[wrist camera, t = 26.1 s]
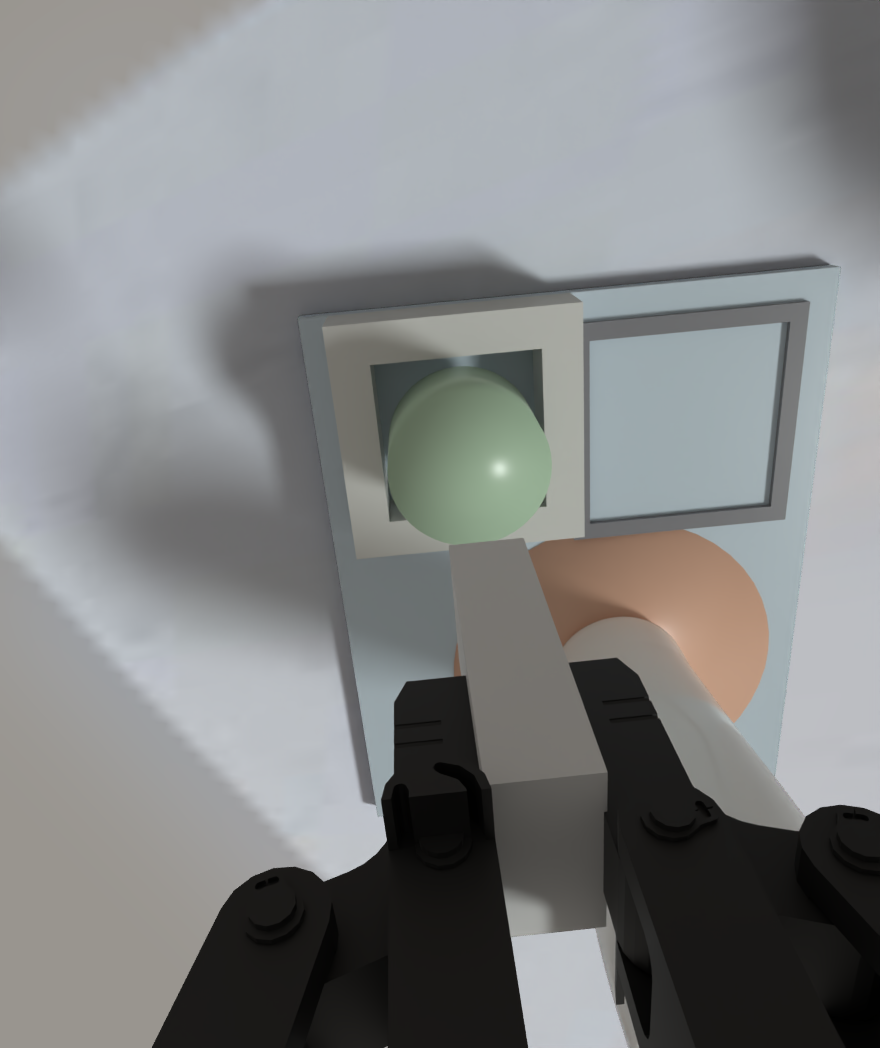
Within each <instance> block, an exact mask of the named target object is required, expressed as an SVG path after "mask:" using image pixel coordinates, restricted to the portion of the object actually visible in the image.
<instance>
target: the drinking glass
mask: <svg viewBox="0 0 880 1048" xmlns="http://www.w3.org/2000/svg"><path fill="white" fill-rule="evenodd" d="M563 649H564V652H565V655H566V658H567V660H568V663H570V662H579V661H589V660H598V659H608V658H618V659H619V660H621V661H622V662H623V663H624V664H625V665H627V666H628V667H629V668H630V669H632V670H633V671H634V672H635V673H637V674H638V675H639V677H640V679H641V681H642V683H643V685H644V687H645V689H646V691H647V694H648V696H649V700H651V702H652V704H653V706H654V708H655V710H656V712H657V715H658V718H660V720H661V722H662V724H663V726H664V728H665V730H666V732H667V734H668V736H669V738H670V740H671V742H672V744H673V747H674V749H675V751H676V753H677V755H678V757H679V759H680V761H681V763H682V765H683V767H684V769H685V771H686V773H687V775H688V777H689V779H690V781H691V783H692V785H693V786H694V788H697V789H698V790H700V791H701V792H703V793H704V794H706V795H707V796H709V797H710V798H712V799H713V800H714V801H715V802H716V803H717V805H718V806H719V807H720V808H721V810H722V811H723V812H724V813H725V815H728V816H730V817H733V818H735V819H737V820H740V821H743V822H747V823H752V824H756V825H761V826H767V827H774V828H781V829H787V830H794V831H799V830H800V828H801V826H802V824H803V822H804V819H805V816H804V815H803V813H802V812H801V811H800V809H799V808H798V807H797V805H796V804H795V803H794V801H793V800H792V799H791V797H790V796H789V795H788V793H787V792H786V791H785V790H784V788H783V787H782V786H781V784H780V783H779V782H778V780H777V779H776V778H775V777H774V775H773V774H772V773H771V771H770V770H769V769H768V767H767V766H766V765H765V764H764V762H763V761H762V760H761V758H760V757H759V756H758V754H757V753H756V752H755V751H754V749H753V748H752V747H751V745H750V744H749V743H748V741H747V740H746V739H745V737H744V736H743V735H742V734H741V732H740V731H739V730H738V728H737V727H736V726H735V724H734V723H733V722H732V720H731V719H730V718H729V716H728V715H727V714H726V713H725V711H724V710H723V709H722V707H721V706H720V705H719V703H718V702H717V701H716V699H715V698H714V697H713V695H712V694H711V693H710V691H709V690H708V689H707V687H706V686H705V685H704V683H703V682H702V681H701V679H700V678H699V677H698V675H697V674H696V672H695V671H694V670H693V668H692V667H691V666H690V664H689V662H688V660H687V659H686V657H685V655H684V654H683V652H682V650H681V649H680V647H679V645H678V644H677V642H676V641H675V640H674V639H673V637H672V636H671V635H670V634H669V633H668V632H666V631H665V630H664V629H663V628H661V627H660V626H658V625H656V624H654V623H652V622H650V621H647V620H644V619H641V618H636V617H625V616H622V617H611V618H606V619H602V620H599V621H596V622H594V623H591V624H589V625H587V626H585V627H584V628H582V629H581V630H579V631H578V632H576V633H575V634H574V635H573V636H572V637H571V638H570V639H569V640H568V641H567V642H566V643H565V644H564V646H563ZM595 929H596V934H597V938H598V943H599V947H600V951H601V955H602V959H603V963H604V967H605V971H606V975H607V979H608V982H609V986H610V990H611V993H612V997H613V1000H614V1003H615V1007H616V1010H617V1014H618V1017H619V1020H620V1023H621V1027H622V1030H623V1033H624V1036H625V1039H626V1043H627V1046H628V1048H639V1045H638V1042H637V1038H636V1034H635V1031H634V1027H633V1024H632V1020H631V1016H630V1013H629V1009H628V1006H627V1002H626V999H625V1000H624V1004H621V1005H616V998H615V947H616V933H615V930H614V927H613V923H612V920H611V916H610V913H609V910H608V906H607V912H606V927H600V928H595Z"/></svg>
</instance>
